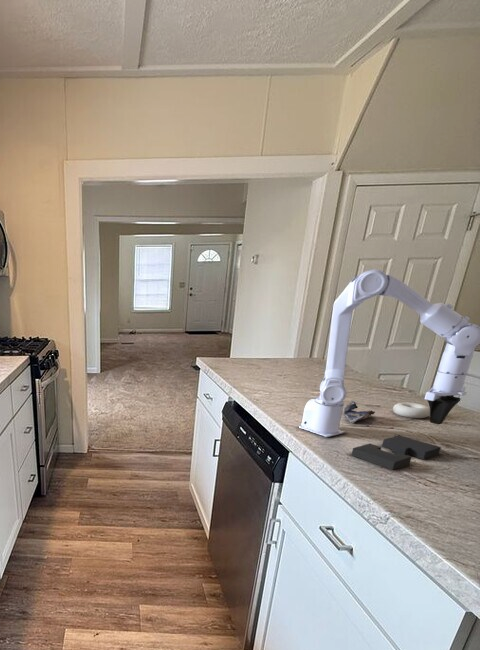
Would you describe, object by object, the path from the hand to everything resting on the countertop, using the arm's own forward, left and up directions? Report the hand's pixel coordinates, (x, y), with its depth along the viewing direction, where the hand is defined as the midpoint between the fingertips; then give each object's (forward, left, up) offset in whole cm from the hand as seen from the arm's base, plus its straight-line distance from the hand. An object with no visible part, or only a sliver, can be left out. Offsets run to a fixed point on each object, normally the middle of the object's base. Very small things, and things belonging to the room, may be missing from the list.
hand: (435, 423), depth 107 cm
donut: (-17, +23, -6) cm, 30 cm away
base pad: (0, -22, -6) cm, 23 cm away
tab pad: (0, -9, -6) cm, 11 cm away
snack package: (-23, +4, -6) cm, 24 cm away
